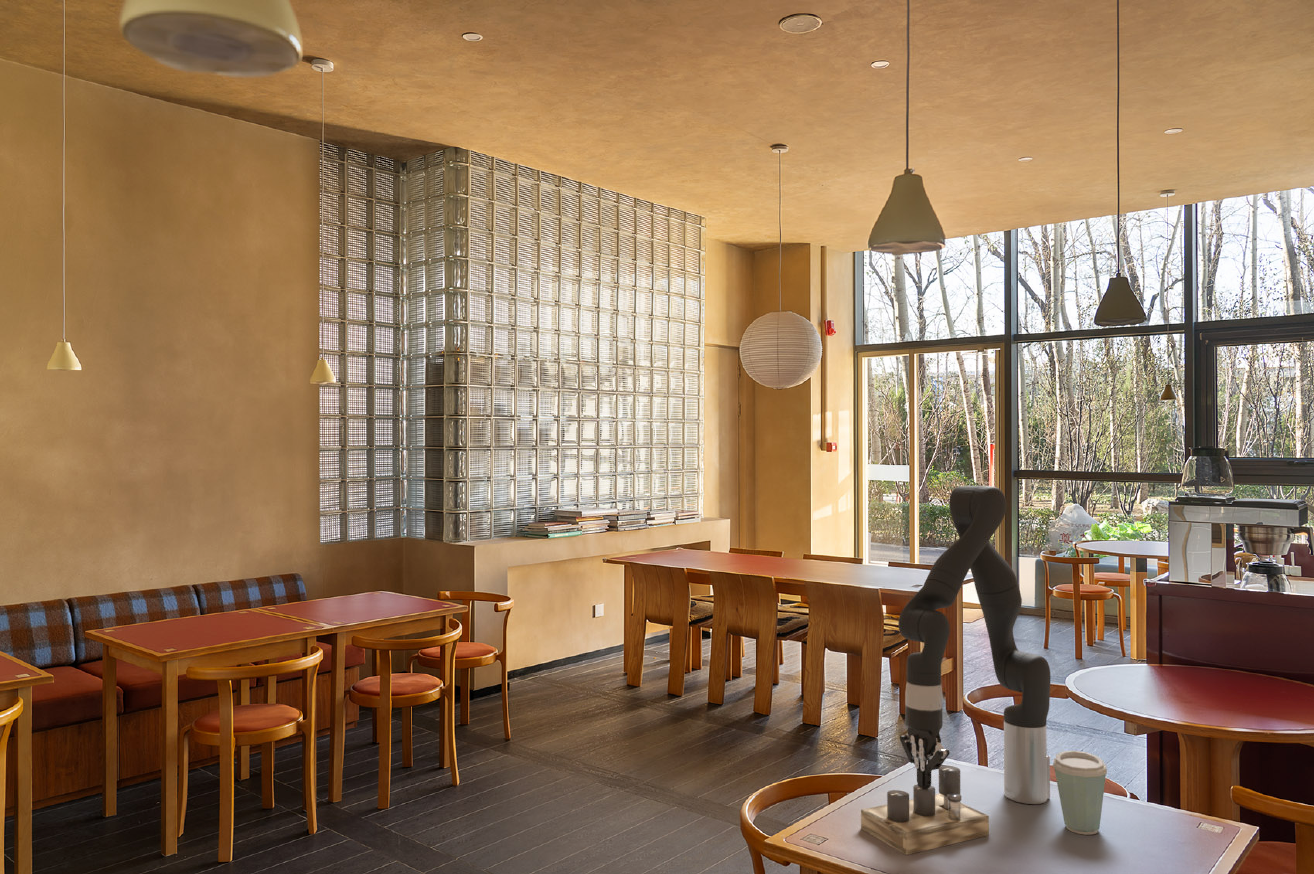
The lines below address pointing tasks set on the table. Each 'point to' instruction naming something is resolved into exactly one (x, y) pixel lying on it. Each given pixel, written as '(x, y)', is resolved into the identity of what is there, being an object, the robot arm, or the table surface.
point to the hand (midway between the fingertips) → (923, 787)
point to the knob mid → (924, 801)
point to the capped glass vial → (954, 806)
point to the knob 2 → (949, 781)
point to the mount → (925, 827)
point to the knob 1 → (898, 806)
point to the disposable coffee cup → (1080, 790)
